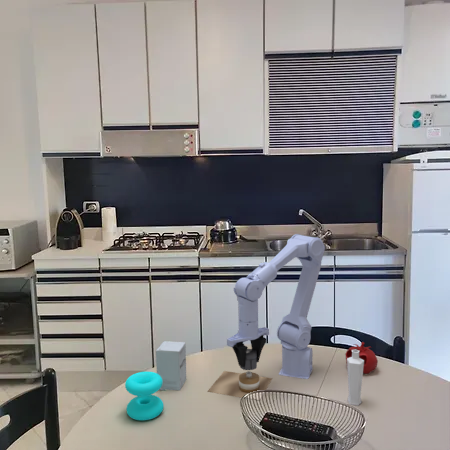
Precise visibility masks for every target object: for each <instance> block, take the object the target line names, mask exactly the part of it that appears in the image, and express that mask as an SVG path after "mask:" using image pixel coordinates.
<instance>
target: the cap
mask: <svg viewBox="0 0 450 450" xmlns="http://www.w3.org/2000/svg"><path fill="white" fill-rule="evenodd" d="M257 363H258V362H257V354H256V351H255V350H253V349H252V348H247V351H246V357H245V367H241V366H239V368H240V369H242V370H243V371H253V370H256V369H257V368H258V367H257V366H258V365H257Z"/></svg>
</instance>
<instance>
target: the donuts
mask: <svg viewBox="0 0 450 450" xmlns="http://www.w3.org/2000/svg"><path fill="white" fill-rule="evenodd" d="M125 380H126V381H125V384H124V388H125V390H126V391H127V392H128V393H129V394H131V395H132V396H135V397H133V398H131V400H130V401H129V402H128V403H127V405H126V413H127V416H128V417H130V418H131V419H133V420H136V421H149V420H153V419H155V418H157V417H158V416H160V414H162V412H163V410H164V402H163V400H162V399H161V397H159V396H157V395H155V393H157V392H158V391H160V390H159V389H160V388H161V386H162V383H163V380H162V378H161V376H160V375H159V374H157V372H154V371H139V372H136V373H133V374H131V375H129V377H128V378H127V379H125Z"/></svg>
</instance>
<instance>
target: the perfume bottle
mask: <svg viewBox="0 0 450 450" xmlns="http://www.w3.org/2000/svg"><path fill="white" fill-rule="evenodd" d="M359 352H360V351H359V350H356V349H355V350H352V357H350V358H347V364H346V368H347V385H348V397H347V399H348V400H347V402H348V404H349V405H353V406H360V405H361V403H362V397H361V394H362V393H361V391H362V387H363V385H362V384H363V383H362V382H363V366H364V360H362V359H361V358H359Z"/></svg>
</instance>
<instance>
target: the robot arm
mask: <svg viewBox="0 0 450 450" xmlns="http://www.w3.org/2000/svg"><path fill="white" fill-rule="evenodd" d="M325 249H326V246H325V244H324V242H323V240H322V238H320V237H314V236H309V235H303V234H300V233H295V234H293V235H292V236H291V237H289V238H288V239H287V242H286V245H285V246H284V247H283V248H282V249H280V251H279V252H278V253H277V254H276V255H275V256H274V257H273V258H272V259H271V260H270V261H269V262H268V261H264V262H260V263H259V264H258V267H256V268H255V269H253V271H251V272H250V273H249V274H247V276H246V277H241V278H239V279H238V280H237V281H236V282H235V285H234V287H233V292H234V295H236V300H237V303H238V304H237V306H238V307H237V308H238V330H237V333H235V334H234V335H232V336H230V337H228V338H226V346H228V347H230V348H232V350H233V352H234V354H235V356H236V359H237V363H238V366H239V367H240V366H241V367H245V357H246V351H247V349H249V347H248V346H247V345H245V342H248V341H250V346H251V349H253V350H255V351H256V354H257V363H259V362H260V358H261V354H262V350H263V349H264V346H265V345H266V343H267V338H266V337H264V336H269V335H270V328H268V327H266V326H264V327H260V328H259V299H260V298H261V296H262V295H263V292H264V291H265V288H266V287H267V286H268V285H269V284H270V283H271V282H272V281H273V280H275V279H276V278H277V275H278V271H279V270H280V269H282V268H283V267H285V266H286V265H287V264H289V262H291V261H292V260H294V258H297V259H298V260H299V262H300V263H301V265H302V269H301V272H300V275H299V279H298V282H297V286H296V290H295V293H294V297H293V300H292V305H291V307H290V310H289V313H288V314H286V315H284V316H283V317H282V320H281V323H280V324H279V326H278V328H277V330H276V336H277V338H278V340H279V341H280V345H281V369H280V371H279V372H278V375H279V376H285V377H291V378H296V379H297V378H299V379H305V380H309V378H310V376H311V373H312V371H313V355H314V354H313V347H310V346H309V344H310V343H311V331H312V325H311V324H310V321H308V318H307V317H308V314H309V312H310V311H309V310H310V307H311V303H312V301H313V297H314V292H315V289H316V285H317V282H318V278H319V274H320V271H321V267H322V262H323V261H322V260H323V257H324V252H325ZM241 367H240V368H241Z"/></svg>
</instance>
